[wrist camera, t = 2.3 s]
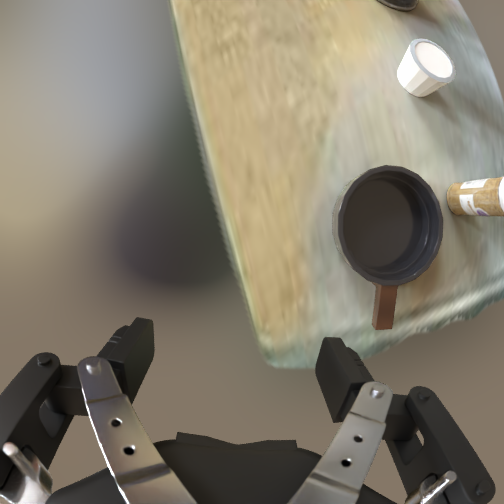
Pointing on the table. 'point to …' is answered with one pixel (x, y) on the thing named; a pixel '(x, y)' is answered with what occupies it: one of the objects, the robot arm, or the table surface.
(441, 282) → the table surface
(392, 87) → the table surface
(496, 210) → the sprinkles bottle
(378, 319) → the pan handle
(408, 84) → the white cup
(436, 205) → the pan
